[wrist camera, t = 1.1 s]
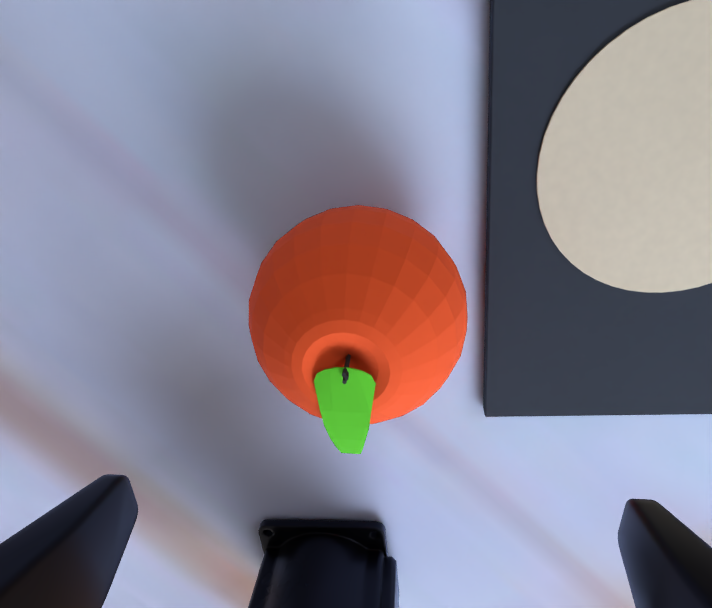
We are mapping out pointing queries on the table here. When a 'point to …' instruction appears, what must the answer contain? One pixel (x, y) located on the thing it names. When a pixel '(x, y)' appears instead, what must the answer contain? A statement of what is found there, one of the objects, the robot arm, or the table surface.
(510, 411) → the placemat
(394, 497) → the table surface
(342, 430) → the clementine
